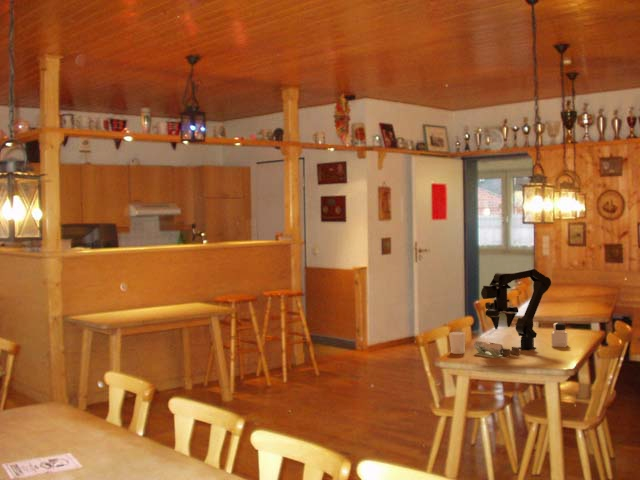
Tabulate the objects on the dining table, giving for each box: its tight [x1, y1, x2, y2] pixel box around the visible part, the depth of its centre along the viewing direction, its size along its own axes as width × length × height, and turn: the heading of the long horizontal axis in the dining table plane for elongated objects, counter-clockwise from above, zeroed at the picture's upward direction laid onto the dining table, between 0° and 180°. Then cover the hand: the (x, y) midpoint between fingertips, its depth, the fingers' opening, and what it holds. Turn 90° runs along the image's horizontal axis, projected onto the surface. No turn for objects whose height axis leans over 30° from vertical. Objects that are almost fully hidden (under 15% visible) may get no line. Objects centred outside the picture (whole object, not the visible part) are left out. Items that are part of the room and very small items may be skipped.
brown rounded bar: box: [473, 340, 504, 354], centre depth 378 cm, size 15×4×4 cm, turn 34°
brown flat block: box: [500, 346, 520, 357], centre depth 379 cm, size 8×8×4 cm
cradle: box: [474, 346, 504, 359], centre depth 378 cm, size 8×12×4 cm, turn 34°
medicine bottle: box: [551, 322, 568, 348], centre depth 398 cm, size 7×7×12 cm
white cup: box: [449, 331, 466, 355], centre depth 386 cm, size 8×8×10 cm
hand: (502, 328), depth 387 cm, fingers open, 9 cm apart
